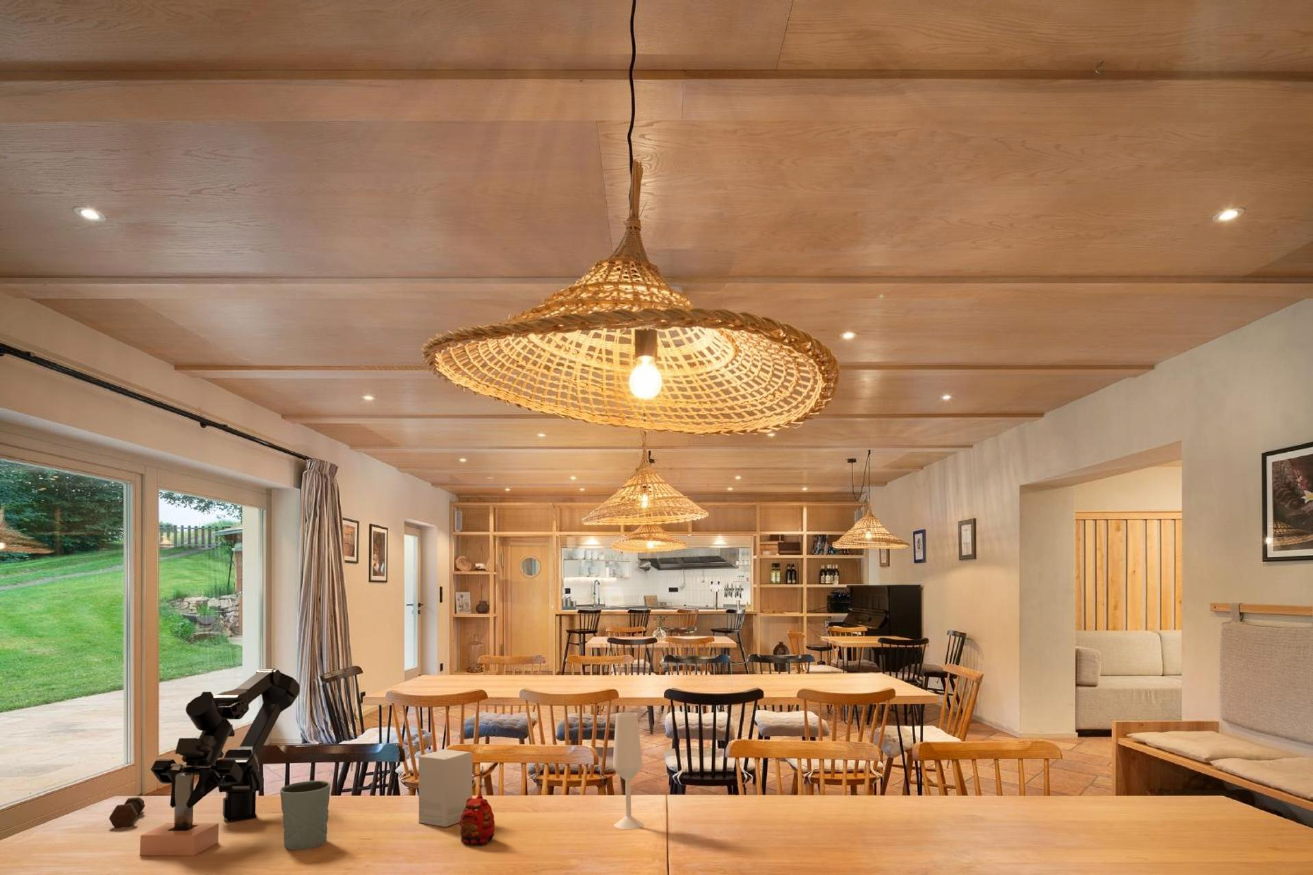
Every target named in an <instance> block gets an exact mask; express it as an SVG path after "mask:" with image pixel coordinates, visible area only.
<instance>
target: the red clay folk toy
mask: <svg viewBox="0 0 1313 875" xmlns="http://www.w3.org/2000/svg"><path fill="white" fill-rule="evenodd" d="M483 773H484V766H483V765H482V766H481V770H480V771H479V773H477V772H473V778H476V777H479V786H478V787H479V791H478V794H477V796H476V797H474V798H473V797H472V798H469V799H467V802H466V807H465V808H464V810H463V813H462V815H461V819H460V822H459V825H460V830H459V831H460V841H461V843H463V844H471V845H473V846H481V845H482V846H484V845H487V843H489V842H491V841H492V839H493V838H494V836H495V826H496V825H495V824H496V822H495V814H494V813H493V809H492V807H491V805H490V803H489V802H488V799H486V798H484V797H483V794H482V788H483V783H482V782H483Z"/></svg>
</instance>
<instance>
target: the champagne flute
mask: <svg viewBox="0 0 1313 875" xmlns="http://www.w3.org/2000/svg"><path fill="white" fill-rule="evenodd" d="M642 756H643V755H642V746H641V738H640V729H639V720H638V713H636V712H619V713H616V715H615V726H614V742H613V754H612V767H613V769H614V771H615V772H616V774H617V775H619V777H620V778H622V779H623V780H624V781H625V816H624V817H623V818H622V819H619V820H618V821H617V822H615V823H614V825H613V826H614V828H616V829H621V830H634V829H635V830H636V829H639V828H642V827H644V825H645V824H644V823H643V822H642V821H640V820H639V819H637V818H636V817H634V816H633V815H632V793H631V792H632V791H631V790H632V788H631V785H632V783H631V780H633V779H634V778H635V777H636V776H637V775H638V774H639V773H640V771H641V769H642V768H643V757H642Z"/></svg>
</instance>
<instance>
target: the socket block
mask: <svg viewBox="0 0 1313 875" xmlns="http://www.w3.org/2000/svg"><path fill="white" fill-rule="evenodd" d="M219 824H220V823H218V822H216V823H215V822H211V823H209V822H208V823H207V822H193V828H192V829H190V830H188V831H174V822H165V823H164V824H162V825H160V826H157V827H156V828H154V829H151V830H149V831H147V832H145V833H142V834H140V839H139V840H140V844H139V845H140V846H139V856H178V857H180V856H182V857H183V856H196V855H198V854H201V853H202V852H203V851H205V850H208V849H209V848H210V847H213V846H214V845H216V844H218V843H219V833H220V832H219V826H220V825H219Z"/></svg>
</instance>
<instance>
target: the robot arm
mask: <svg viewBox="0 0 1313 875" xmlns="http://www.w3.org/2000/svg"><path fill="white" fill-rule="evenodd" d="M300 690H301V686H300V683H299V682H298V681H297V680H296V679H295V678H294V677H292V676H290V675H287V674H285V673H283V672H281V670H279V669H277V668H260V669H258V670H257V671H256V672H255V673H254V674H253V675H252V676H251V677H249V678H248V679H247V680H245V681H244V682H243V683H241V684H240V685H238V686H237V687H236V688H234V689H232V690H226V691H221V692H220V693H217V694H215V695H213V692H212V691H202V692H201V694H200V695H198V696H196V697H194V698H193V699H191V700H190V702H188V703H187V704H186V707H185V714H187V716H188V718H189V719H190V721H191V722H192V723H193V725H194V726H195V728H196V729H197V730H199V731H201V733H200V736H199V737H198V738H197V737H195V738H194V737H180V738H178V741H177V745H176V746H175V747H176V748H175V752H174V754H175V755H179V756H182V757H181V760H182V762H184V763H186V764H185V765H184V764H182V763H177V762H176V761H175V759H174V758H167V759H166V758H163V759H160V758H159V759H157V760H155V761H154V762H153V764H152V766H151V768H150V771H151V772H152V774H153V775H154V777H156V779H157V780H158V781H159V782H160V783H161V784H167V785H168V784H170V785H171V792H170V803H169V806H170V808H172V809H173V808H174V809H175V777H176V775H177V774H179V773H185V772H193V773H194V777H195V776H198V781H197V783H196V784H195V786H194V791H193V793H192V795H191V797H190V800H189V802H188V807H189V808H191V807H193V808H194V806H195V805H196V804H197V803H198V802H200V801H201V800H202V799H203V798H205V797H206V796H207V795H208V794H210V793H211V792H213V790H215V789H216V788H218V792H219V793H225V797H223V799H222V817H223V818H224V819H225V820H226V822H234V821H235V822H236V821H240V820H241V821H242V820H249V819H254V818H258V814H257V812H256V810H257V809H256V805H257V802H256V800H257V797H256V796H257V792H258V791H261V790H262V789H263V787H264V780H265V778H264V777H263V775H262V774H261V772H260V770H259V769H260V765H259V759H258V757H259V755H260V753H261V751H262V749H263V747H264V746H265V744H266V742H267V740H268V738H269V736H270V735H271V732H272V730H273V729H274V726H275V724H276V722H277V720H278V718H279V716H280V715H281V713H282V712H284V711H285V710H286V709H288V708H289V707H291V706H292V705H293V703H294V702H296V699H297V697H298V696H299V694H300V692H301V691H300ZM260 695H261V698H262V705H261V706H260V709H259V710H258V711H257V713H256V716H255V717H254V719H253V722H252V723H251V725H250V726H249V729H248V730H247V732H246V734H245V735H244V737H243V739H242V741H241V743H240V745H239V747H238V748H229V749H228V750H227V751H226V752H225V754H224V752H223V749H224V747H225V744H226V742H227V740H228V739H229V738H230V737H232V738H233V737H235V734H236V733H235V730H234V727H233V724H232V723H231V722H230V721H231V720H232V721H233V720H241V719H242V718H243V717H244V716H245V715H246V714H247V712H248V711H249V710H250V707H249V706H250V704H251V703H252V702H253V701H255V700H256V699H257V698H258V697H259V696H260ZM229 720H230V721H229Z"/></svg>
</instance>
